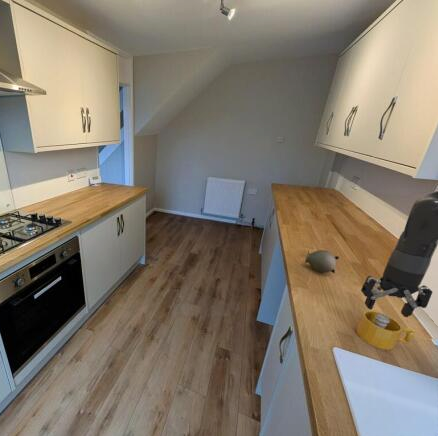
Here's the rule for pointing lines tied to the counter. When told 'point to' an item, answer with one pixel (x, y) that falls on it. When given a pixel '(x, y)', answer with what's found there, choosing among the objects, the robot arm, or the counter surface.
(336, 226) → the counter surface
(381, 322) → the rook chess piece
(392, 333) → the mug
